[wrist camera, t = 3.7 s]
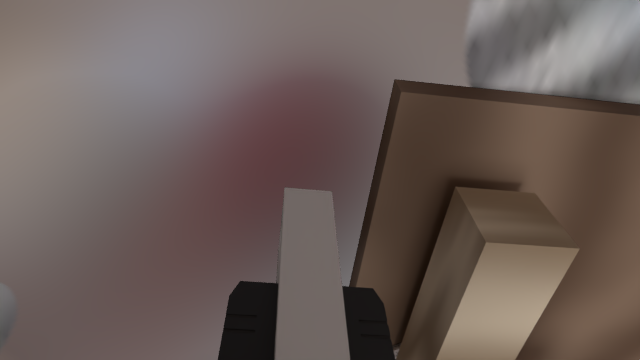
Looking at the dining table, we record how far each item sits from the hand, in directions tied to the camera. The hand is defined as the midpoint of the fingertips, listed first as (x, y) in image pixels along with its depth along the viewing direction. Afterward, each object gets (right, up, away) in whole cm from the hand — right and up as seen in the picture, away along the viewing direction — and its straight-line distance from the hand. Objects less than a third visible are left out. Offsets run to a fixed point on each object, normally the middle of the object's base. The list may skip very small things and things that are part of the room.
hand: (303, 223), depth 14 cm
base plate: (+10, -4, +7) cm, 13 cm away
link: (+6, -5, +5) cm, 9 cm away
